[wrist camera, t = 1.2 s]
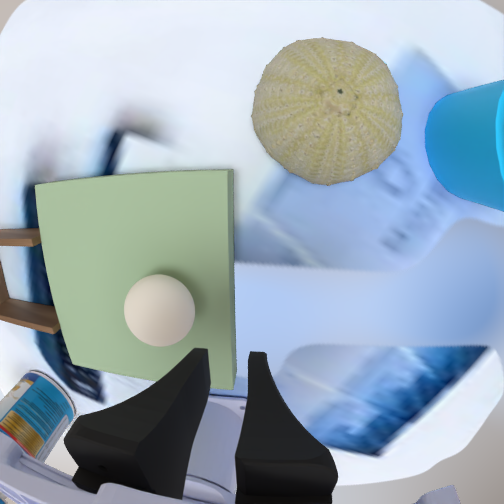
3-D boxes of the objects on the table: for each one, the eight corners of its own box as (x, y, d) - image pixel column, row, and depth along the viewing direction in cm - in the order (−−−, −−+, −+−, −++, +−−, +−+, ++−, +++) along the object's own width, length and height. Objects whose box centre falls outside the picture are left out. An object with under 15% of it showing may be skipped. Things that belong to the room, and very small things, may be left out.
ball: (204, 326, 20) (188, 365, 16) (145, 321, 21) (119, 355, 16) (200, 265, 19) (180, 295, 15) (137, 263, 19) (105, 289, 15)
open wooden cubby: (82, 342, 25) (43, 385, 18) (15, 326, 26) (-23, 357, 19) (58, 227, 22) (0, 252, 15) (-9, 229, 22) (-57, 249, 16)
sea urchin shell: (210, 127, 17) (269, 20, 10) (272, 82, 21) (327, 6, 14) (326, 225, 18) (428, 160, 11) (361, 159, 22) (435, 101, 15)
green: (236, 371, 24) (233, 389, 22) (84, 350, 25) (72, 363, 23) (233, 169, 19) (227, 170, 17) (53, 181, 21) (35, 185, 18)
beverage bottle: (82, 427, 30) (17, 538, 11) (35, 403, 30) (-35, 495, 11) (70, 383, 27) (-21, 509, 8) (19, 358, 27) (-72, 456, 8)
